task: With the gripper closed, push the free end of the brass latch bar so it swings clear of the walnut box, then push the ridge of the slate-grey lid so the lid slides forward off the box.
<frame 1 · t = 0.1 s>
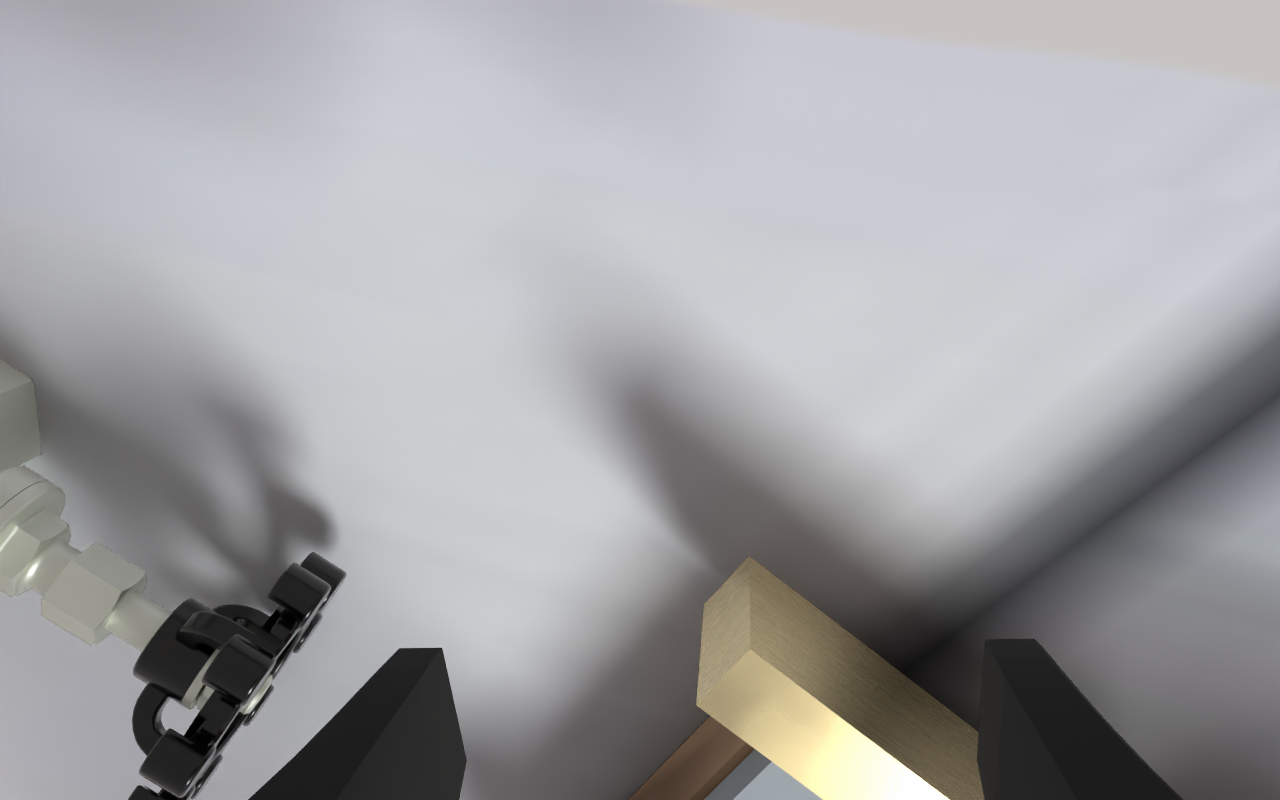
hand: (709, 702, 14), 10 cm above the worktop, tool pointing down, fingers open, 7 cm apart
valve: (119, 492, 26), on the worktop
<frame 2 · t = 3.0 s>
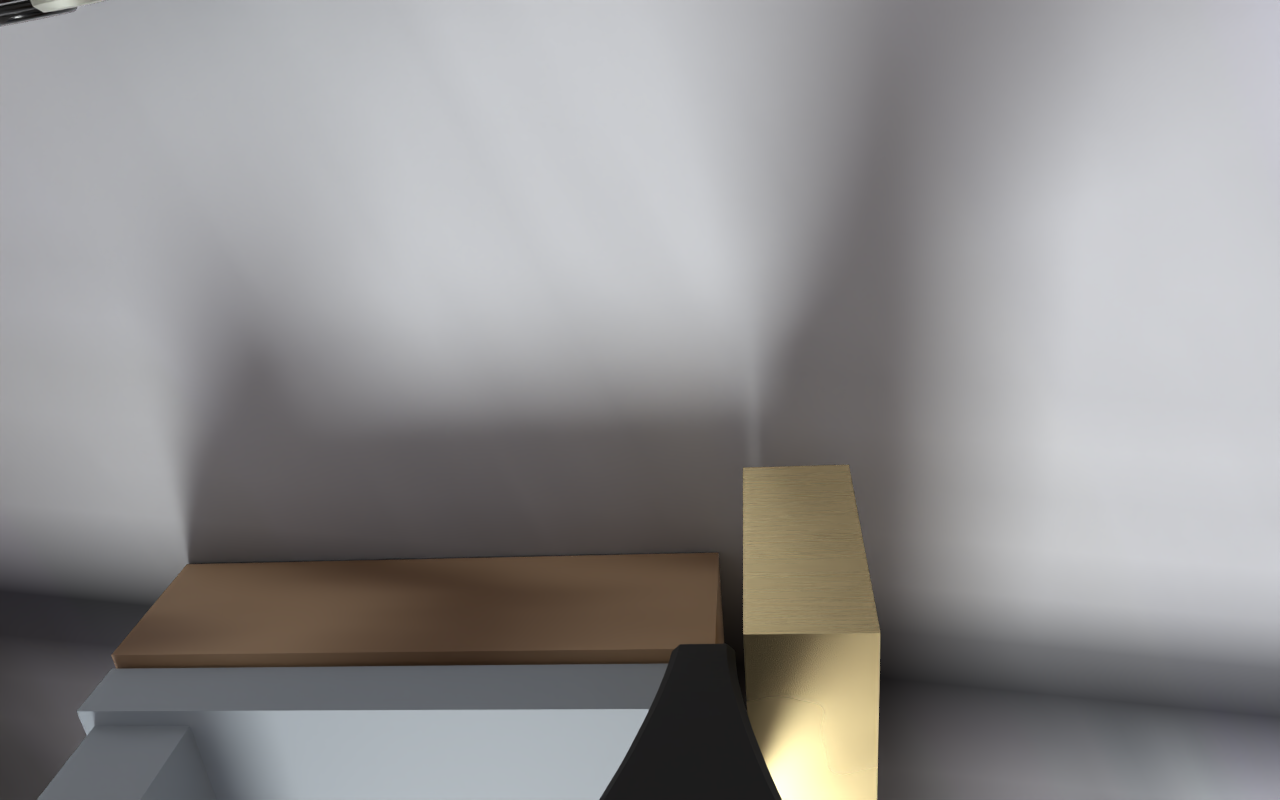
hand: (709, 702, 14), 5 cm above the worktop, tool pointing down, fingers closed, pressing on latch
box: (474, 706, 20), on the worktop
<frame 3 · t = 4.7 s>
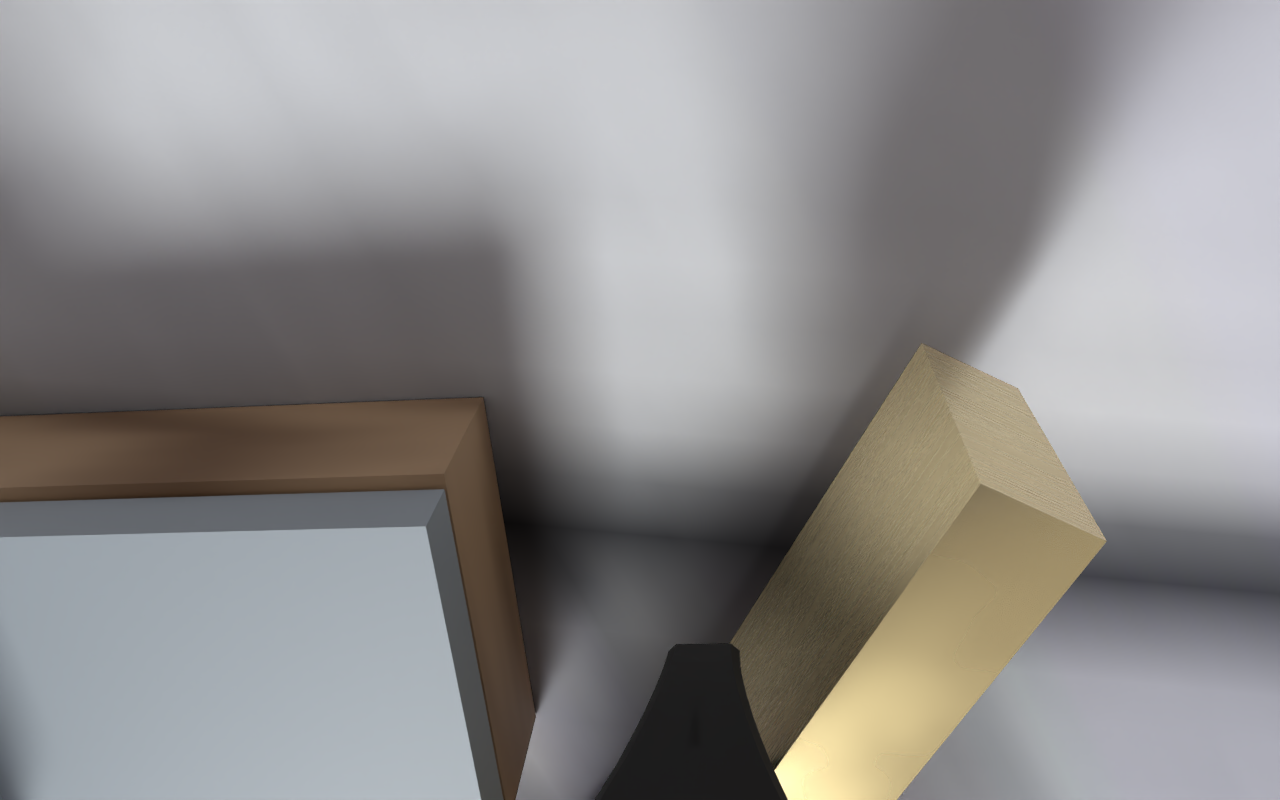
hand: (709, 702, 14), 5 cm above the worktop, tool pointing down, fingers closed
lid: (126, 748, 15), point 4 cm above the worktop, slide at 0.0 cm
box: (252, 574, 19), on the worktop
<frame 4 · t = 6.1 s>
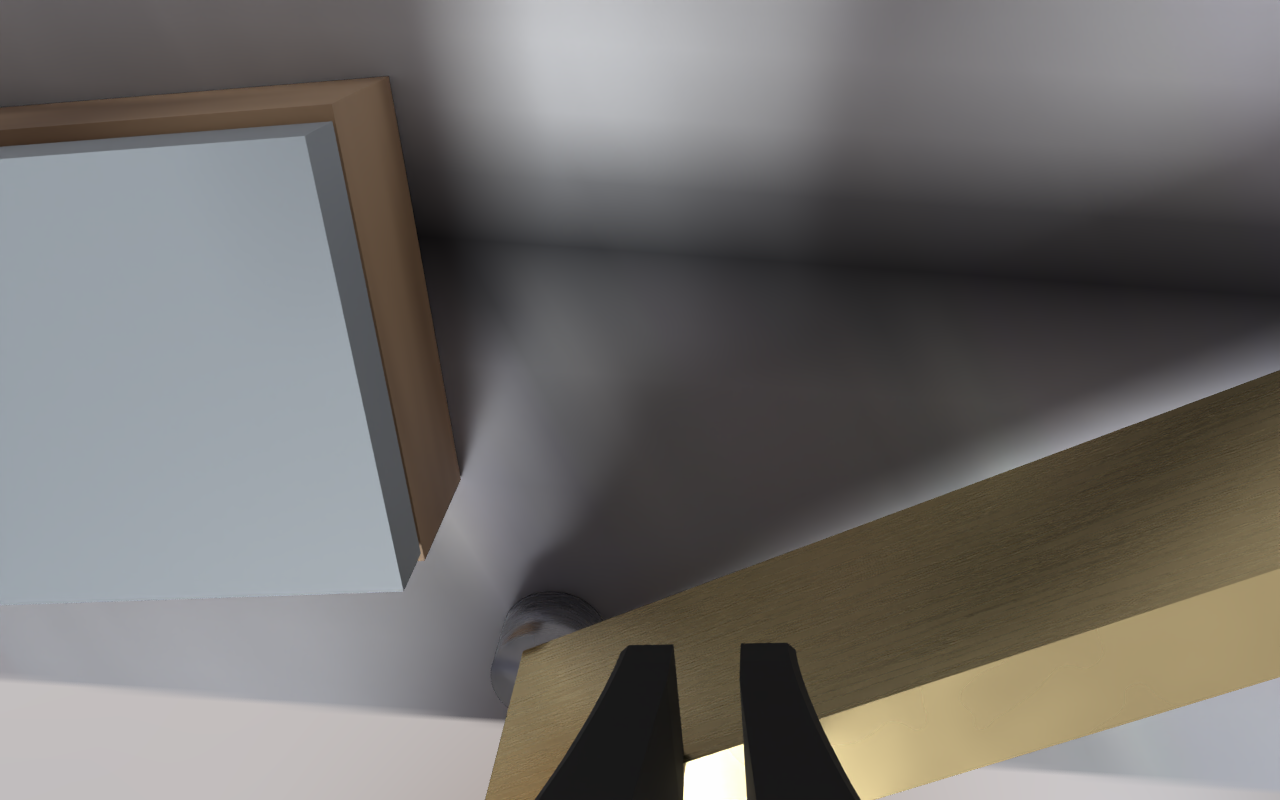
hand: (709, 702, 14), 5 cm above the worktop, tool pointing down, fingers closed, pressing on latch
chrome dome knob: (555, 634, 20), on the worktop
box: (141, 312, 17), on the worktop
latch: (880, 669, 15), point 4 cm above the worktop, hinge at -68.4°, touching gripper
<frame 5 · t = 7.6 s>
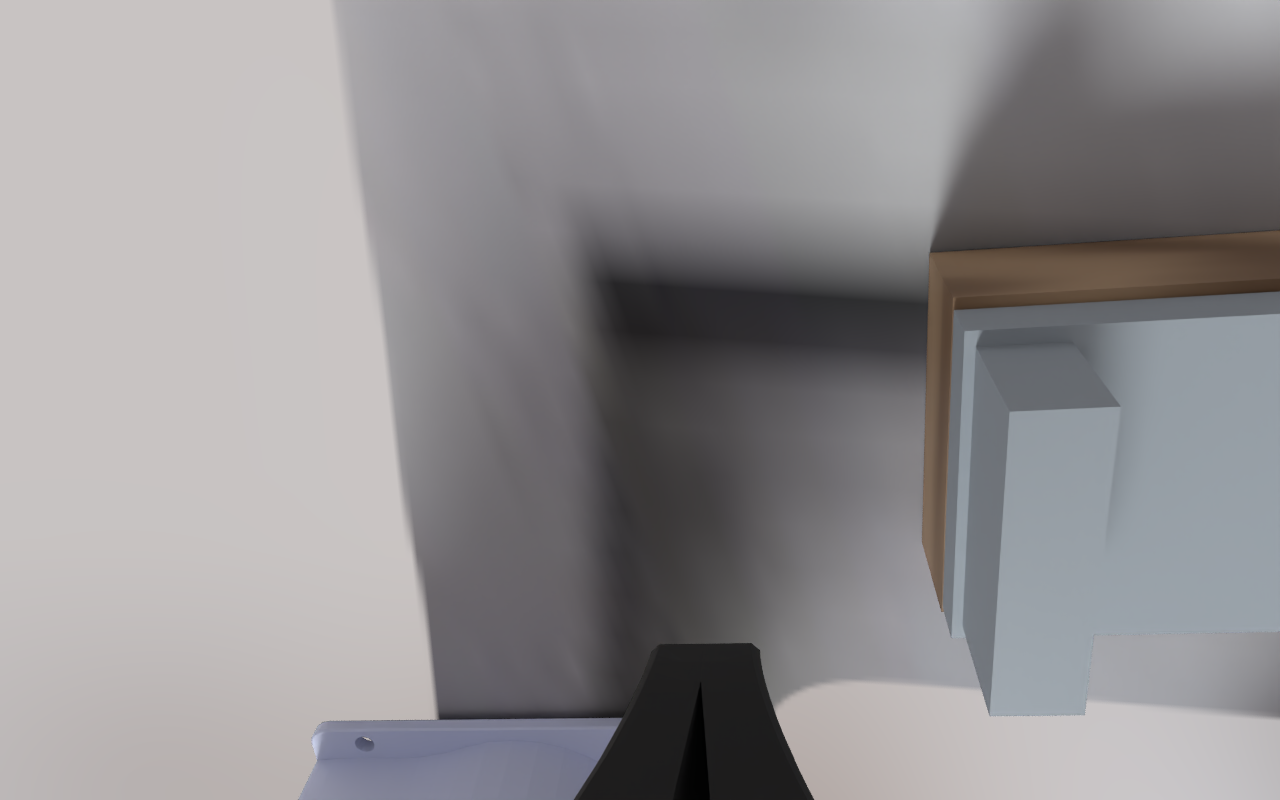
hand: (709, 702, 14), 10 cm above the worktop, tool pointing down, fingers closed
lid: (1263, 508, 18), point 4 cm above the worktop, slide at 0.0 cm
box: (1167, 395, 22), on the worktop
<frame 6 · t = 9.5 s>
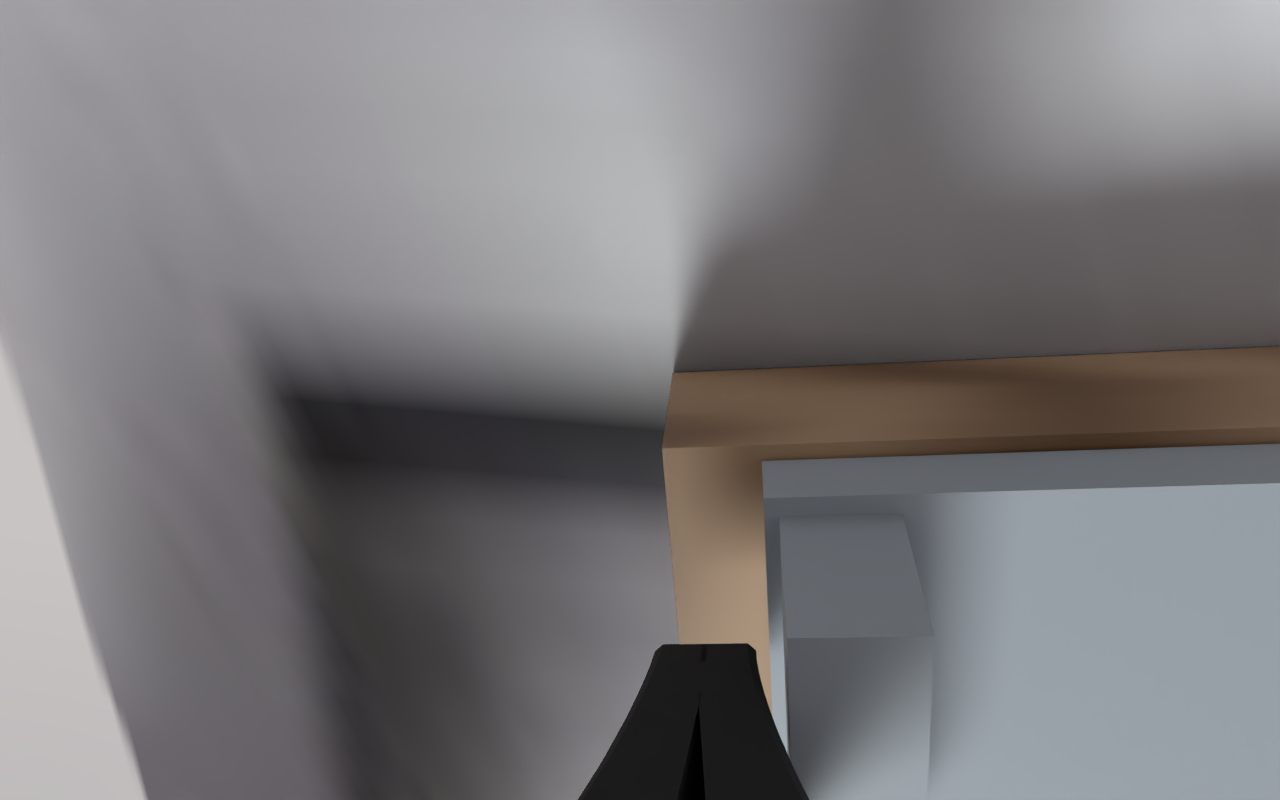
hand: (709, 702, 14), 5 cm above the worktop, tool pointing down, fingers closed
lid: (1150, 728, 14), point 4 cm above the worktop, slide at 1.4 cm, touching gripper
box: (974, 543, 18), on the worktop
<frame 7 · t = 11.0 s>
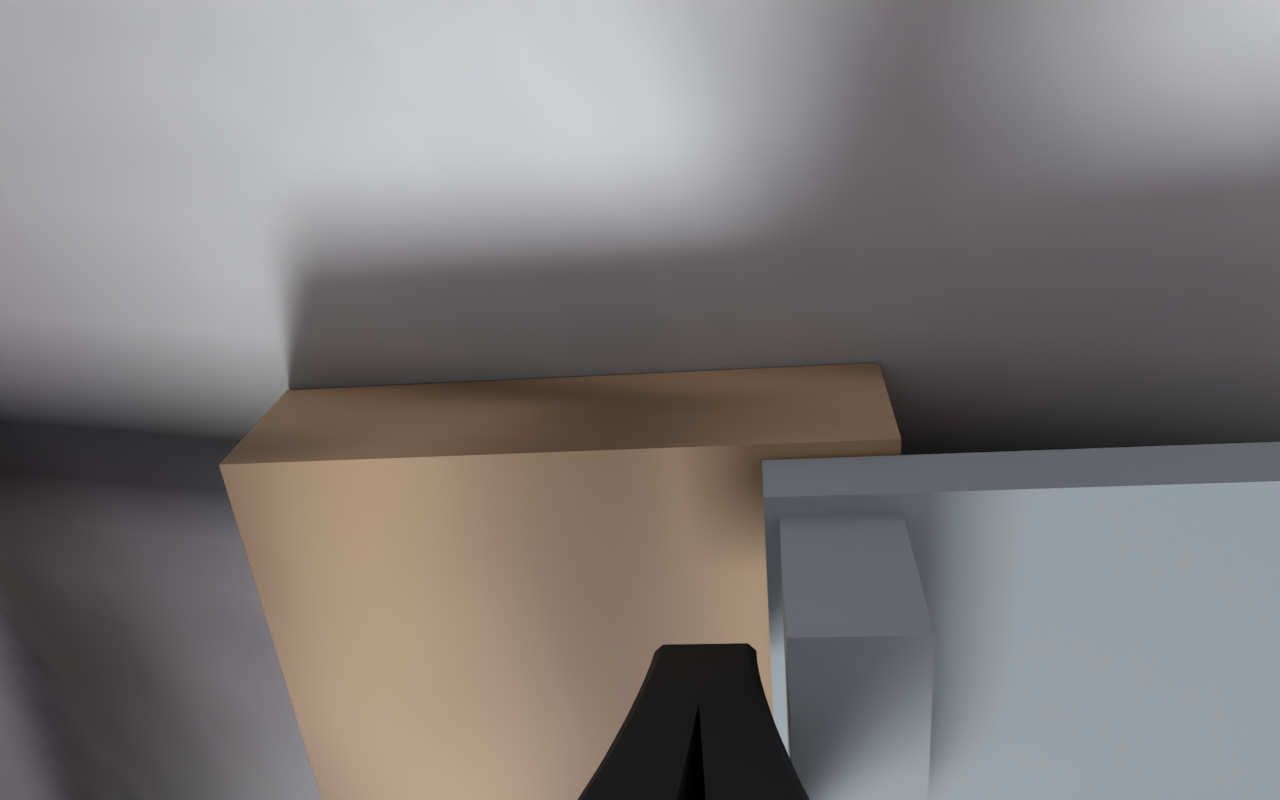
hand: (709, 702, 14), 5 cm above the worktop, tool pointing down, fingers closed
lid: (1151, 727, 14), point 4 cm above the worktop, slide at 8.1 cm, touching gripper
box: (595, 552, 19), on the worktop
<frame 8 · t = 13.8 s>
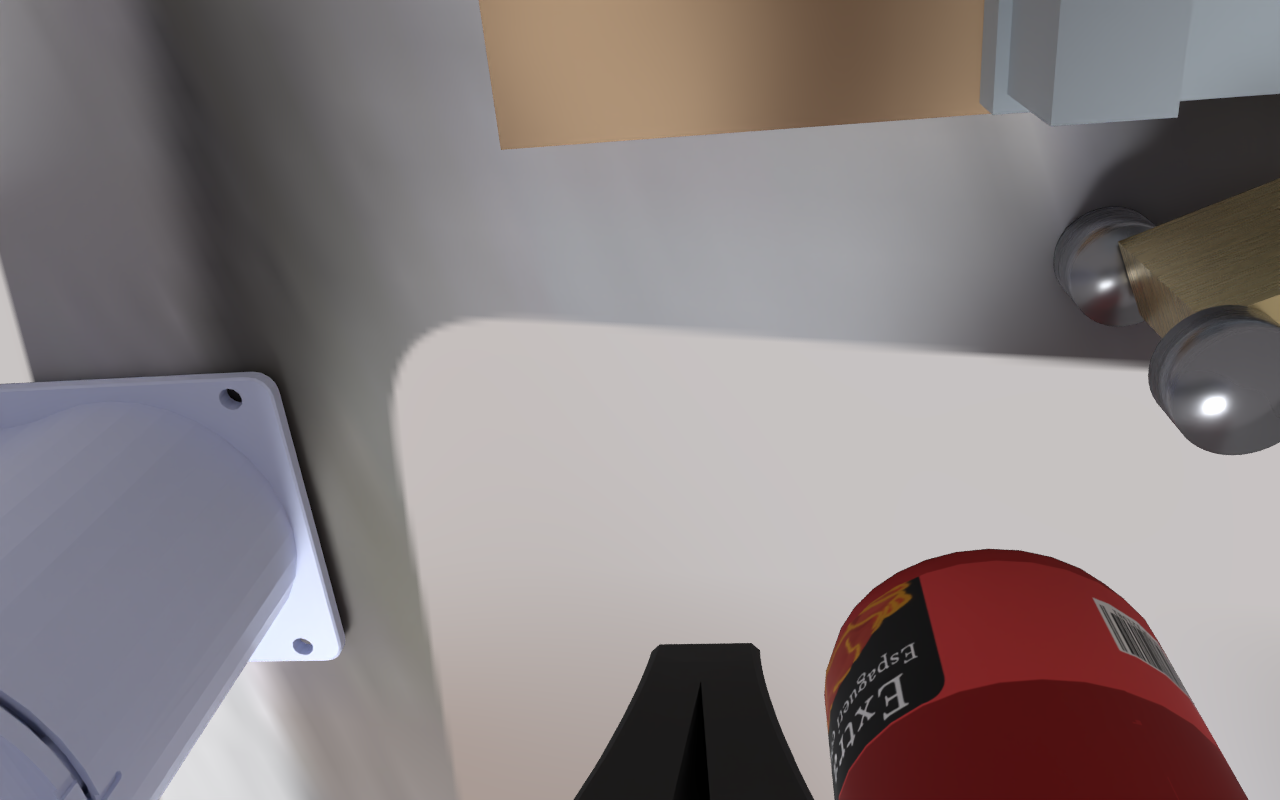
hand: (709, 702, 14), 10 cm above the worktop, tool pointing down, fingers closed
chrome dome knob: (1105, 255, 21), on the worktop
canned food: (982, 662, 26), on the worktop
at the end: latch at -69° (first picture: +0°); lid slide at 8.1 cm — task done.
